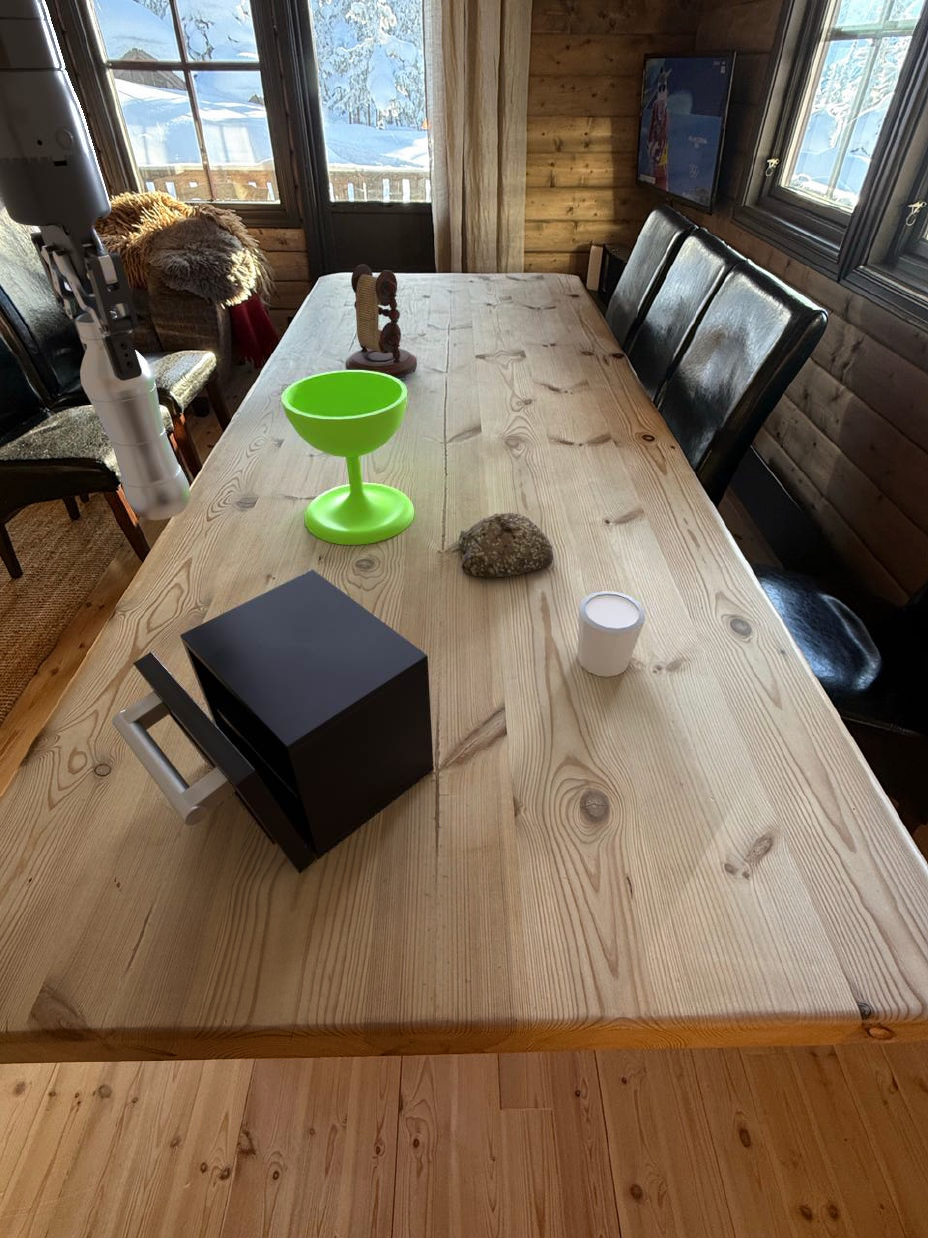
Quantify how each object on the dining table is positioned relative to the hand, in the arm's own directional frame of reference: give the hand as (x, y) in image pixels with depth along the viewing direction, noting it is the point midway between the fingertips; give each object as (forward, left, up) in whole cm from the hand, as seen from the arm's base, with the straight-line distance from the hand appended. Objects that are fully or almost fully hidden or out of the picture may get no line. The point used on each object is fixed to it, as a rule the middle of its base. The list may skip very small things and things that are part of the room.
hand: (115, 367), depth 61 cm
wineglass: (+27, +3, -29) cm, 40 cm away
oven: (-2, -30, -29) cm, 42 cm away
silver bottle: (0, 0, -16) cm, 16 cm away
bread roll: (+35, -18, -29) cm, 49 cm away
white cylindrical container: (+28, -40, -29) cm, 57 cm away
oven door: (-11, -30, -29) cm, 43 cm away
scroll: (+64, +44, -29) cm, 83 cm away
